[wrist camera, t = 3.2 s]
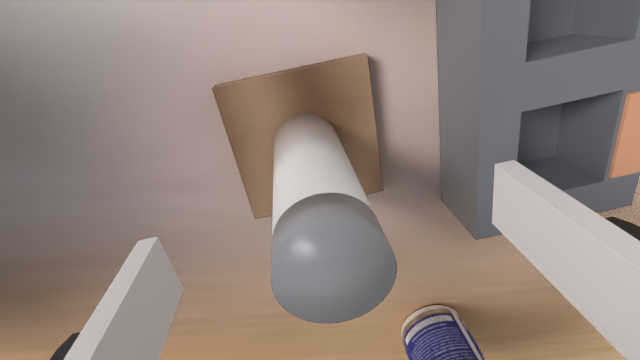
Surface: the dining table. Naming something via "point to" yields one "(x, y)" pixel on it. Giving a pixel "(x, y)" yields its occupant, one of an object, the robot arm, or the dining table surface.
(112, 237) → the dining table surface
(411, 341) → the pill bottle
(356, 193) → the plug
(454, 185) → the socket box
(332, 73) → the coaster
